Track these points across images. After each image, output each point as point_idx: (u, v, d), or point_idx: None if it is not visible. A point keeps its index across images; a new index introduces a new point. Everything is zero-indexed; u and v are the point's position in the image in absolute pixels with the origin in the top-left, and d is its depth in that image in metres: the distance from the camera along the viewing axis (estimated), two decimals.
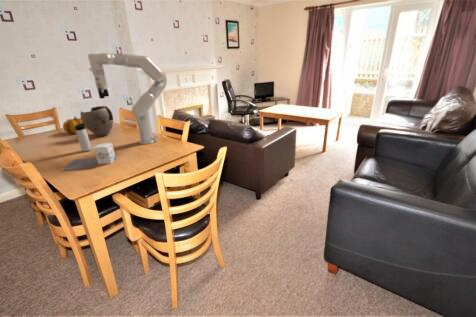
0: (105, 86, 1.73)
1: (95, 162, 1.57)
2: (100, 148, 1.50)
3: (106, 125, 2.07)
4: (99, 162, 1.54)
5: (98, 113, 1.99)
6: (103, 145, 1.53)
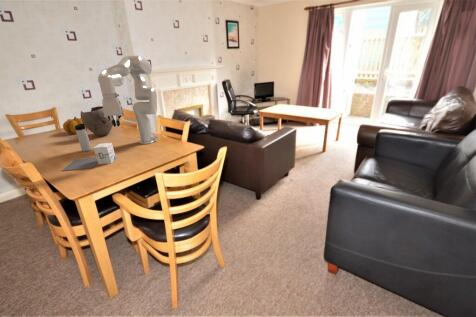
0: None
1: (95, 162, 1.57)
2: (100, 148, 1.50)
3: (106, 125, 2.07)
4: (99, 162, 1.54)
5: (98, 113, 1.99)
6: (103, 145, 1.53)
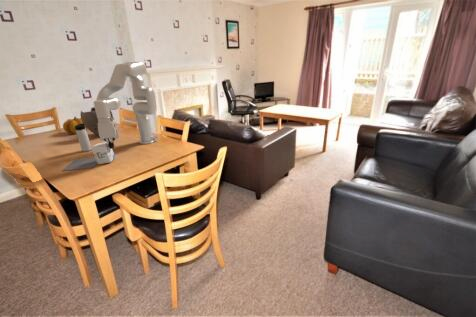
0: None
1: (95, 162, 1.57)
2: (97, 147, 1.50)
3: None
4: (99, 162, 1.54)
5: None
6: (100, 144, 1.53)
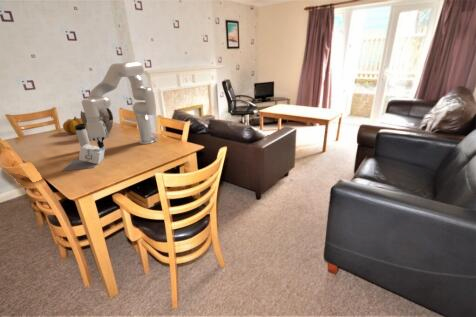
0: None
1: None
2: (80, 154, 1.51)
3: (106, 125, 2.07)
4: (96, 162, 1.54)
5: None
6: None
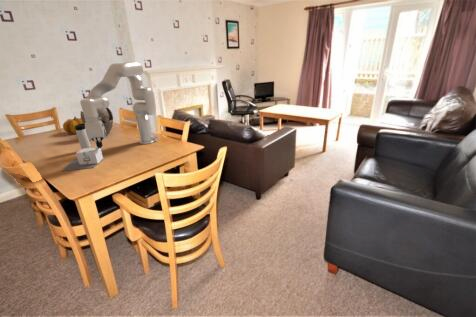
0: None
1: None
2: (78, 159, 1.52)
3: (106, 125, 2.07)
4: (95, 162, 1.54)
5: (98, 113, 1.99)
6: None
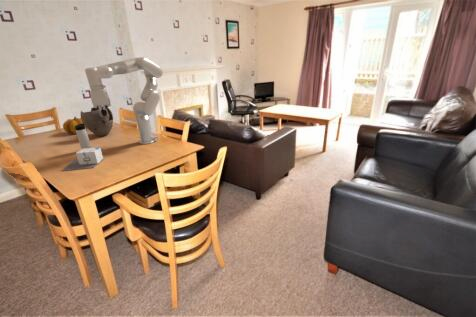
0: None
1: None
2: (78, 159, 1.52)
3: (106, 125, 2.07)
4: (95, 162, 1.54)
5: (98, 113, 1.99)
6: None
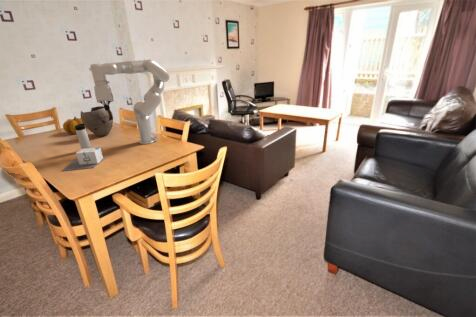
0: None
1: None
2: (78, 159, 1.52)
3: (106, 125, 2.07)
4: (95, 162, 1.54)
5: (98, 113, 1.99)
6: None
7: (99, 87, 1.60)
